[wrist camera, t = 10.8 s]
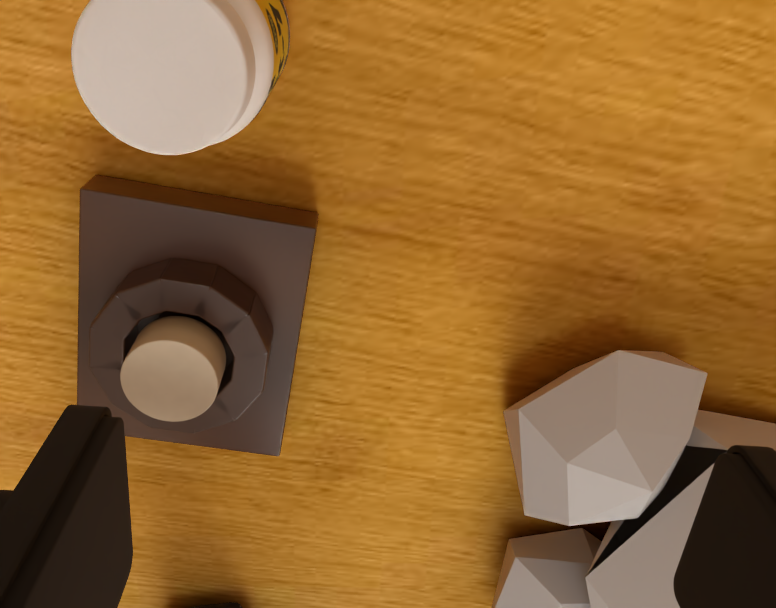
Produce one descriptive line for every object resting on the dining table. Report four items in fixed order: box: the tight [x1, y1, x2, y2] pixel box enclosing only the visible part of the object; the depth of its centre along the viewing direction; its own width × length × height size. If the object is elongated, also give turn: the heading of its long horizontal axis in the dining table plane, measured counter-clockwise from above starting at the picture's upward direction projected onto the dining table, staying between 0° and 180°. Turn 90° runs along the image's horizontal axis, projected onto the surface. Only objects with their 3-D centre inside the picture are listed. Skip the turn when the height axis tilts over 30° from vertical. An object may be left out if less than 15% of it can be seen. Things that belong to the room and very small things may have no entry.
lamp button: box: [120, 316, 226, 422], centre depth 25 cm, size 3×3×2 cm
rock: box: [492, 350, 776, 608], centre depth 30 cm, size 18×20×10 cm
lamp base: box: [77, 175, 319, 456], centre depth 27 cm, size 10×8×4 cm
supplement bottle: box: [71, 0, 290, 155], centre depth 21 cm, size 5×5×8 cm
